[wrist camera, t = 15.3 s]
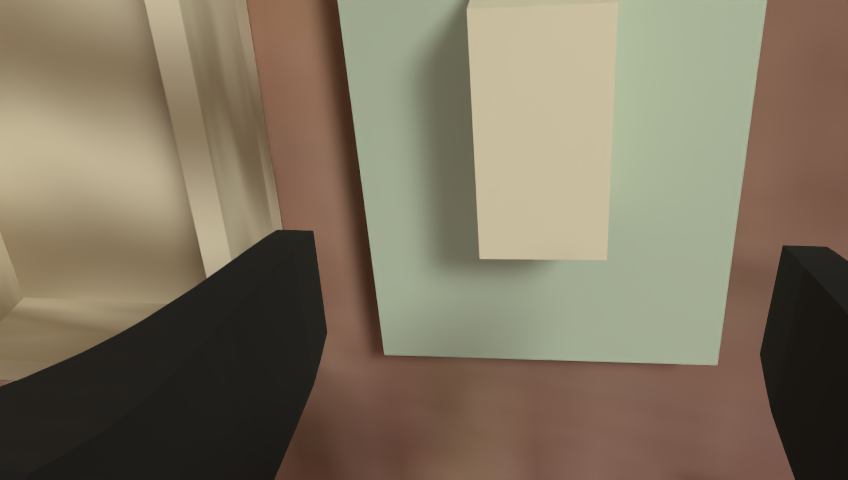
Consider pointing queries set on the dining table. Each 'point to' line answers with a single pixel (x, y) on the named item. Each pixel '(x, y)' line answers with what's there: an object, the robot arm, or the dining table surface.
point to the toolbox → (122, 165)
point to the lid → (552, 172)
